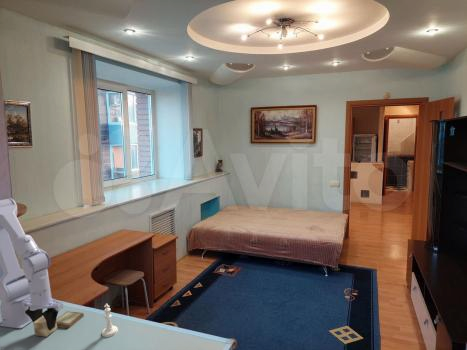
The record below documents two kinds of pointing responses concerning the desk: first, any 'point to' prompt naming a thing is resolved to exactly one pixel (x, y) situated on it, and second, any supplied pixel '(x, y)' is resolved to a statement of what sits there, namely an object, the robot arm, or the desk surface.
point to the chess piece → (109, 324)
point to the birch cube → (42, 327)
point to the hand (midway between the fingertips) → (45, 327)
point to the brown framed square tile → (68, 319)
